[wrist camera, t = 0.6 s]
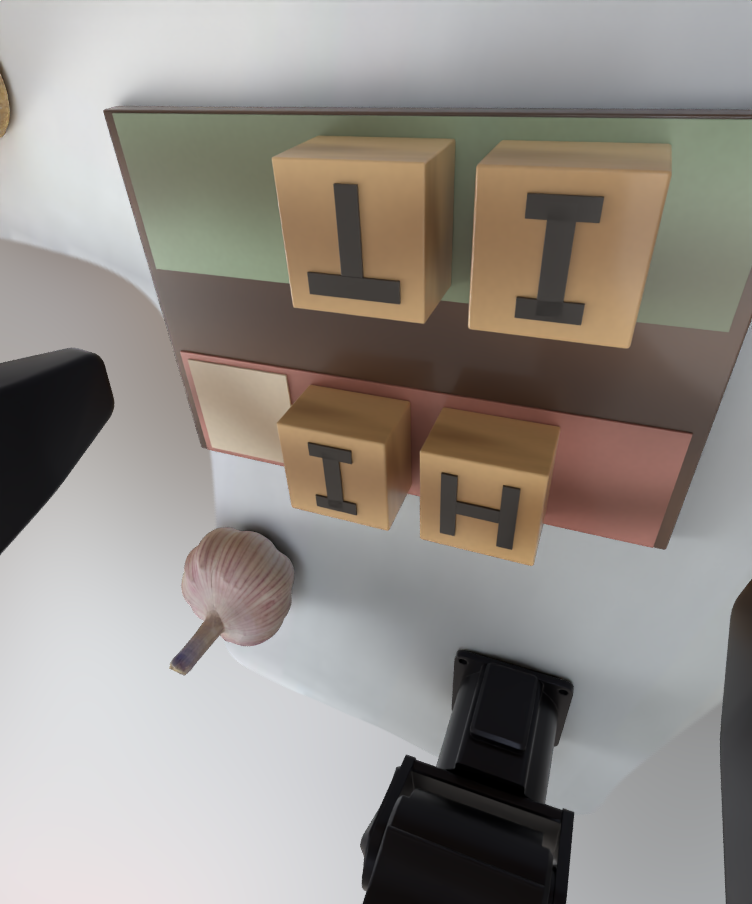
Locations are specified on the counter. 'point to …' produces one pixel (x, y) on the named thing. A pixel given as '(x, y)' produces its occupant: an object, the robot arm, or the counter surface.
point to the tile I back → (347, 455)
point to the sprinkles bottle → (3, 108)
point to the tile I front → (565, 238)
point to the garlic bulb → (234, 591)
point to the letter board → (450, 298)
